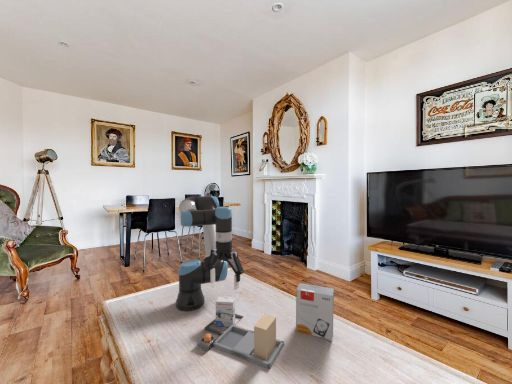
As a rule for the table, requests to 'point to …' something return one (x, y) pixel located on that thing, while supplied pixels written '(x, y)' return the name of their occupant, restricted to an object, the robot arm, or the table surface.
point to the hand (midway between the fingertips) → (224, 285)
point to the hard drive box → (315, 310)
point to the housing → (205, 345)
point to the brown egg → (207, 338)
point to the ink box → (225, 311)
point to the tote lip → (216, 330)
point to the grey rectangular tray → (244, 345)
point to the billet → (265, 337)
